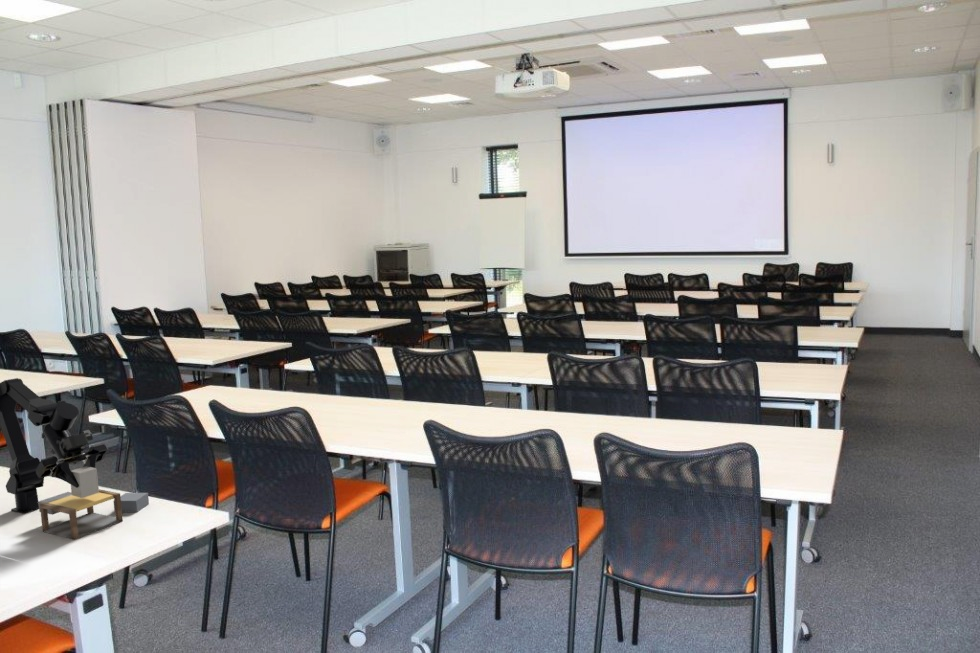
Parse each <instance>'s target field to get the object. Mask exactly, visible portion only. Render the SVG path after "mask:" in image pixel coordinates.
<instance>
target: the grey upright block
mask: <svg viewBox="0 0 980 653" xmlns="http://www.w3.org/2000/svg"><path fill="white" fill-rule="evenodd" d="M70 470H71V469H70ZM71 472H72V473H73V475H74V477H75V478H76V480H77V482H78V484H79V487H78V488H76V487H74V486H73V485H71V484H70V492H71V493H72V495H73V496H76V497H80V498H84V497H87V496H90V495H93V494H96V493H99V489H100V488H99V478H98V470H97V468H96V467H95V468H93V467H88V466H85V467H83V466H81V467H77V468H75V469H72V470H71Z"/></svg>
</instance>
